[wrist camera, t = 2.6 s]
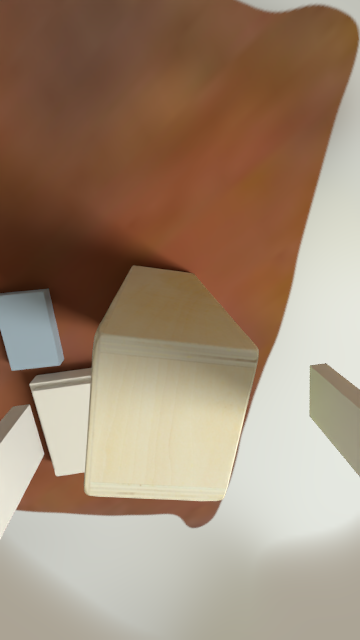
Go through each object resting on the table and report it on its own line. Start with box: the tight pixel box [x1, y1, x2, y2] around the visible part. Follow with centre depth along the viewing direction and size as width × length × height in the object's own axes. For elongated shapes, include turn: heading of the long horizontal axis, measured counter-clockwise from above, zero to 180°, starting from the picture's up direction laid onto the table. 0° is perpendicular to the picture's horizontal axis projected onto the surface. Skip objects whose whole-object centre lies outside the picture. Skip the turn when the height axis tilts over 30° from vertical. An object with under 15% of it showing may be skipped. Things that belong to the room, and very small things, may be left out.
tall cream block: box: [84, 265, 259, 501], centre depth 23 cm, size 8×7×21 cm
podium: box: [29, 368, 91, 476], centre depth 34 cm, size 12×12×3 cm
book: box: [0, 289, 64, 371], centre depth 32 cm, size 8×5×2 cm, turn 5°
